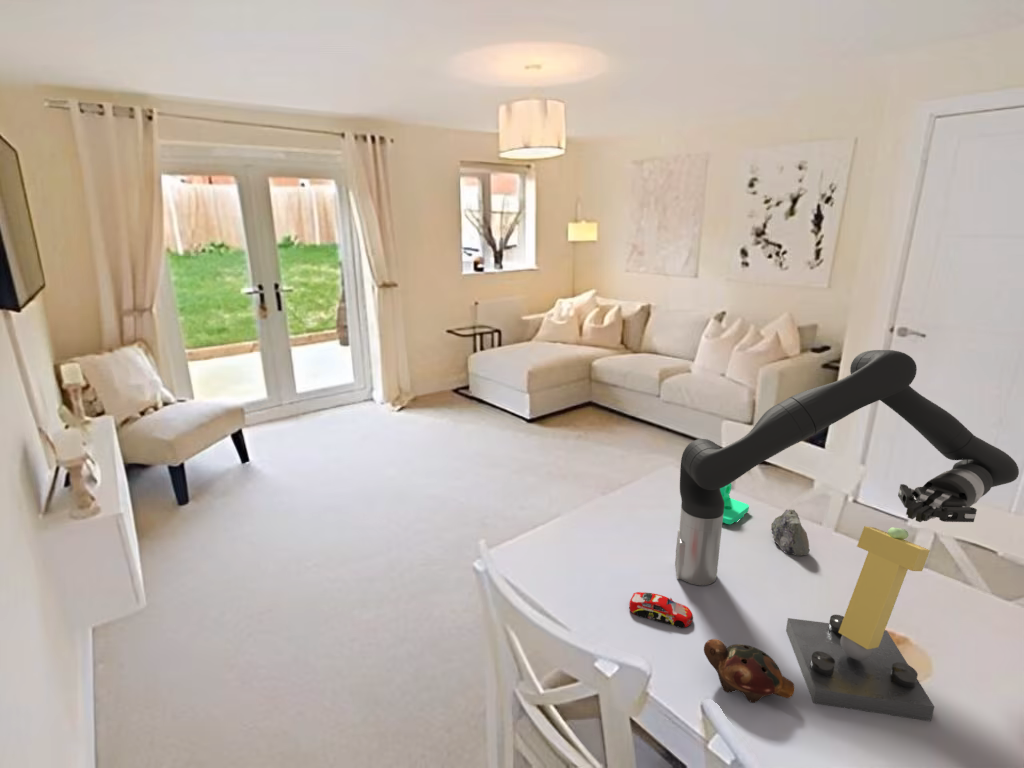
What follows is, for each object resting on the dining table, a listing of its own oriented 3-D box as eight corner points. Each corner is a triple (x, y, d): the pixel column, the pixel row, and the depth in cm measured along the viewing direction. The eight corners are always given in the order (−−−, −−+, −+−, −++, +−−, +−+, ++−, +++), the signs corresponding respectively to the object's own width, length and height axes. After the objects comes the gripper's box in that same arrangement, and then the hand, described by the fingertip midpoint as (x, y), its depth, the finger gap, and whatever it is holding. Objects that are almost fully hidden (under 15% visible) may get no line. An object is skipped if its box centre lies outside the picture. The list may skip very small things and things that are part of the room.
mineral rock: (773, 525, 150) (778, 492, 147) (817, 538, 144) (822, 504, 141) (760, 546, 141) (765, 511, 138) (806, 561, 134) (812, 525, 131)
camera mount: (729, 528, 149) (733, 494, 146) (703, 518, 154) (707, 485, 152) (749, 513, 157) (753, 481, 154) (724, 504, 162) (727, 472, 159)
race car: (694, 616, 116) (696, 600, 115) (690, 633, 111) (692, 616, 110) (632, 599, 121) (633, 583, 120) (626, 614, 117) (628, 598, 116)
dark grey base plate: (813, 702, 94) (817, 679, 93) (785, 629, 112) (788, 608, 110) (930, 721, 91) (937, 697, 89) (883, 642, 108) (888, 621, 106)
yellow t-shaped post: (872, 675, 94) (924, 539, 93) (820, 643, 102) (867, 517, 100) (883, 672, 97) (933, 540, 96) (832, 641, 105) (878, 518, 103)
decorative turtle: (700, 657, 105) (707, 622, 103) (786, 685, 99) (795, 648, 97) (696, 693, 96) (704, 656, 94) (791, 727, 90) (801, 687, 88)
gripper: (919, 462, 114) (878, 483, 105) (1000, 486, 103) (963, 512, 94) (912, 494, 116) (871, 517, 107) (991, 521, 105) (953, 550, 96)
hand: (914, 515), depth 100 cm, fingers closed
